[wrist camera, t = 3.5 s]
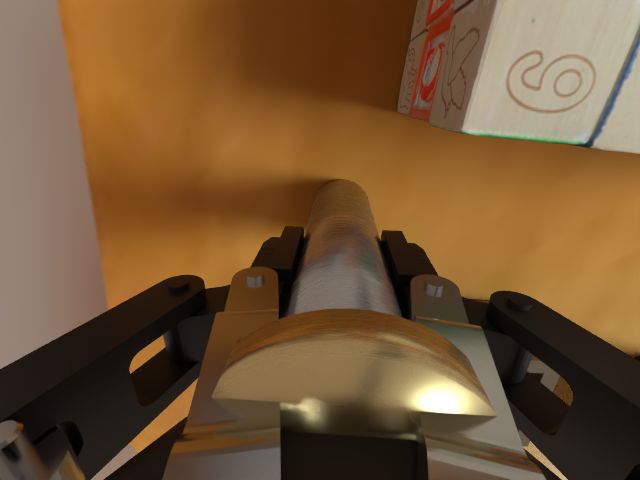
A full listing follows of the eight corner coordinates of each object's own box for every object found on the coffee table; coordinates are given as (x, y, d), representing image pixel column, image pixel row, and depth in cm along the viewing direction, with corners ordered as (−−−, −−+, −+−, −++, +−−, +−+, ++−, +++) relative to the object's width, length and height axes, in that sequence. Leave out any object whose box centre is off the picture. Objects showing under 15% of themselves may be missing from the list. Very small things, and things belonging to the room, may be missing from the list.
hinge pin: (295, 159, 17) (153, 345, 4) (392, 162, 17) (571, 370, 4) (296, 246, 19) (205, 548, 6) (382, 250, 19) (474, 571, 6)
